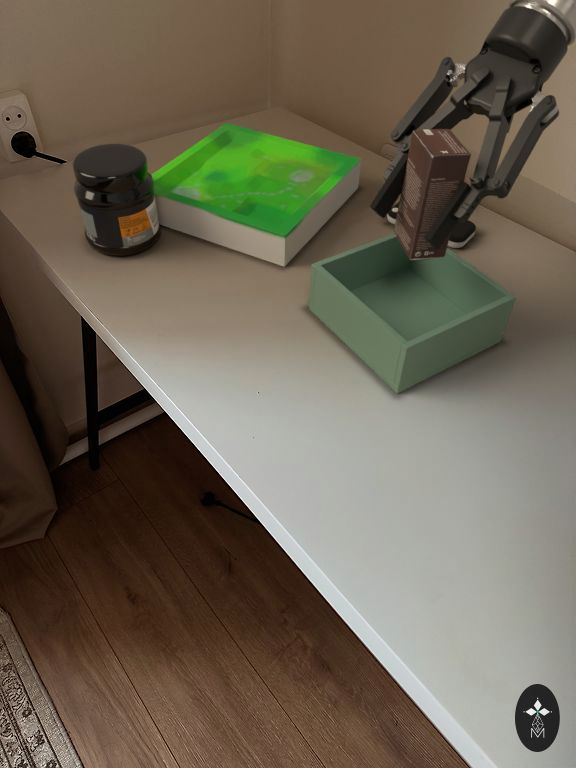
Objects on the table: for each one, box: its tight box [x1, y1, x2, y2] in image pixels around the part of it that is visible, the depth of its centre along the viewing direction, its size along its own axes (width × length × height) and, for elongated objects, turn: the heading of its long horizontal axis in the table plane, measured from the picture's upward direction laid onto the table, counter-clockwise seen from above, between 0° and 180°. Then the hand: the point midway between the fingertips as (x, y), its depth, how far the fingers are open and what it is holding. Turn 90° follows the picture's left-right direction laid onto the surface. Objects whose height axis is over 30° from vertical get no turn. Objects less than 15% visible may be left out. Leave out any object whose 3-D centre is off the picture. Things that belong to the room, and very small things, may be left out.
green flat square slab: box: [150, 122, 362, 268], centre depth 98 cm, size 25×25×5 cm
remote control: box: [386, 201, 477, 249], centre depth 95 cm, size 6×13×2 cm, turn 53°
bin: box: [308, 232, 517, 394], centre depth 77 cm, size 18×17×7 cm
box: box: [393, 129, 472, 261], centre depth 67 cm, size 6×4×12 cm
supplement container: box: [72, 143, 161, 257], centre depth 88 cm, size 10×10×12 cm
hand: (403, 227), depth 67 cm, fingers closed on box, 7 cm apart
